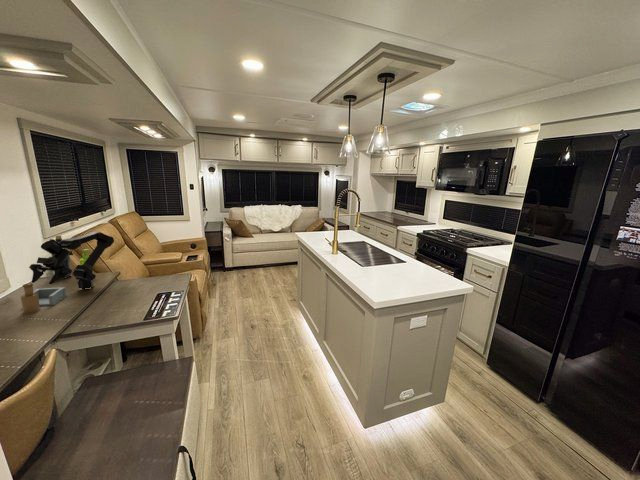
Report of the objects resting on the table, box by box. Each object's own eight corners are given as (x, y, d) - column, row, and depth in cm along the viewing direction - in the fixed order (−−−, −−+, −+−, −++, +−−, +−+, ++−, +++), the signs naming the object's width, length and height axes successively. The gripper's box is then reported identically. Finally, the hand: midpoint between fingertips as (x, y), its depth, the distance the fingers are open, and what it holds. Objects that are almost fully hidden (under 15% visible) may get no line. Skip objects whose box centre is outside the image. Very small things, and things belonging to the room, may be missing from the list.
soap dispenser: (96, 275, 190) (94, 248, 186) (87, 278, 184) (84, 250, 180) (89, 274, 191) (86, 247, 187) (79, 277, 184) (76, 250, 180)
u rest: (37, 297, 151) (36, 288, 150) (66, 295, 156) (65, 287, 155) (23, 307, 140) (21, 297, 139) (54, 305, 145) (53, 295, 143)
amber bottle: (42, 308, 141) (39, 282, 138) (35, 313, 135) (31, 286, 132) (28, 309, 138) (24, 282, 135) (20, 314, 133) (15, 287, 130)
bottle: (60, 280, 177) (55, 237, 171) (50, 278, 179) (44, 235, 173) (75, 275, 186) (71, 235, 180) (65, 274, 187) (60, 233, 181)
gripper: (30, 249, 142) (9, 275, 134) (65, 252, 143) (47, 278, 134) (46, 259, 151) (28, 284, 143) (79, 262, 152) (63, 286, 143)
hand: (41, 283), depth 141 cm, fingers open, 9 cm apart
